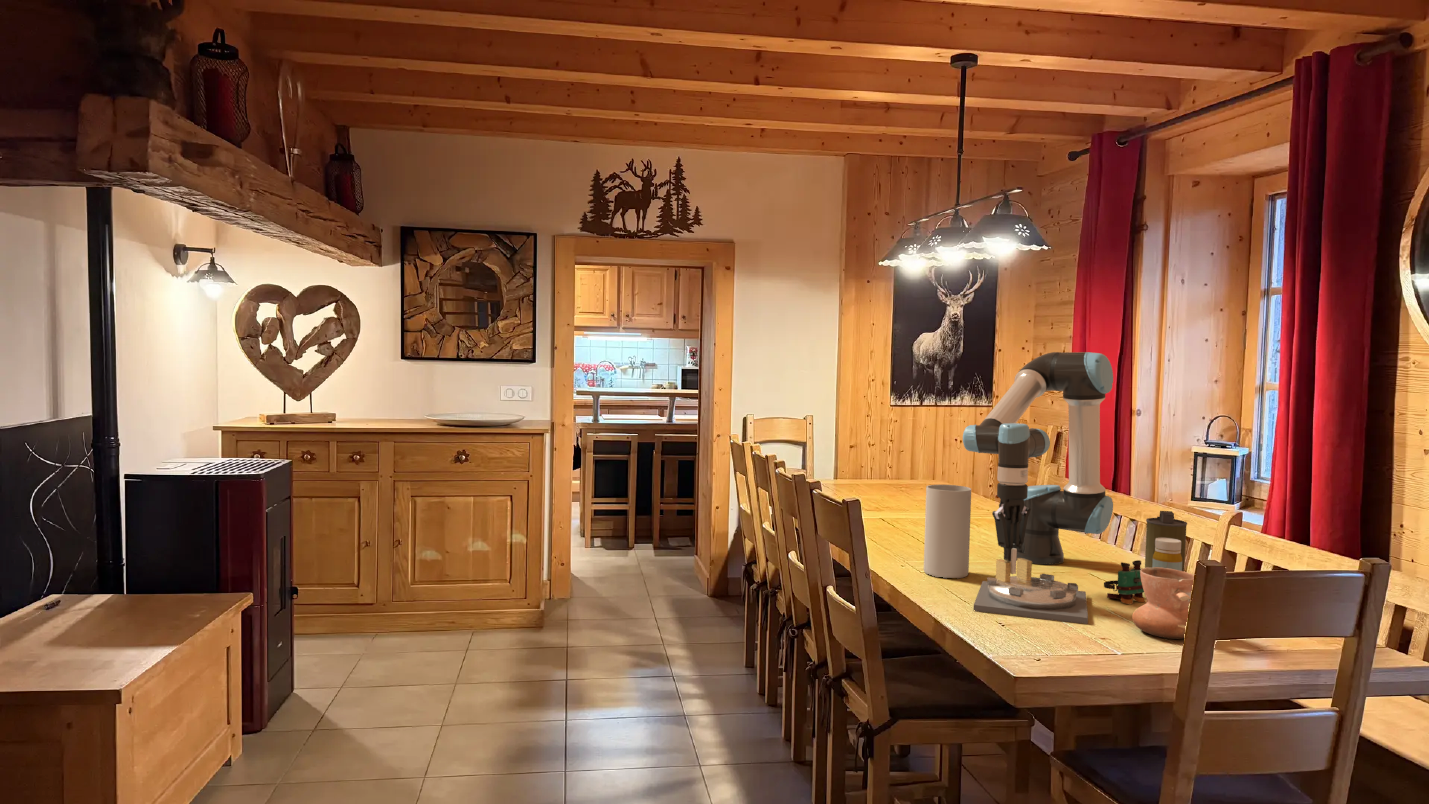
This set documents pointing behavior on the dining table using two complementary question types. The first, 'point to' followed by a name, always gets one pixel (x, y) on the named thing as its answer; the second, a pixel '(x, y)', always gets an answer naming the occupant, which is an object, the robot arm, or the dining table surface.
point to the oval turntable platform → (1029, 588)
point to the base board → (1067, 615)
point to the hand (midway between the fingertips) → (1009, 572)
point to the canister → (1164, 534)
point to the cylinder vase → (947, 531)
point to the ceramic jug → (1164, 602)
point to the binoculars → (1127, 584)
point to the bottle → (1167, 553)
